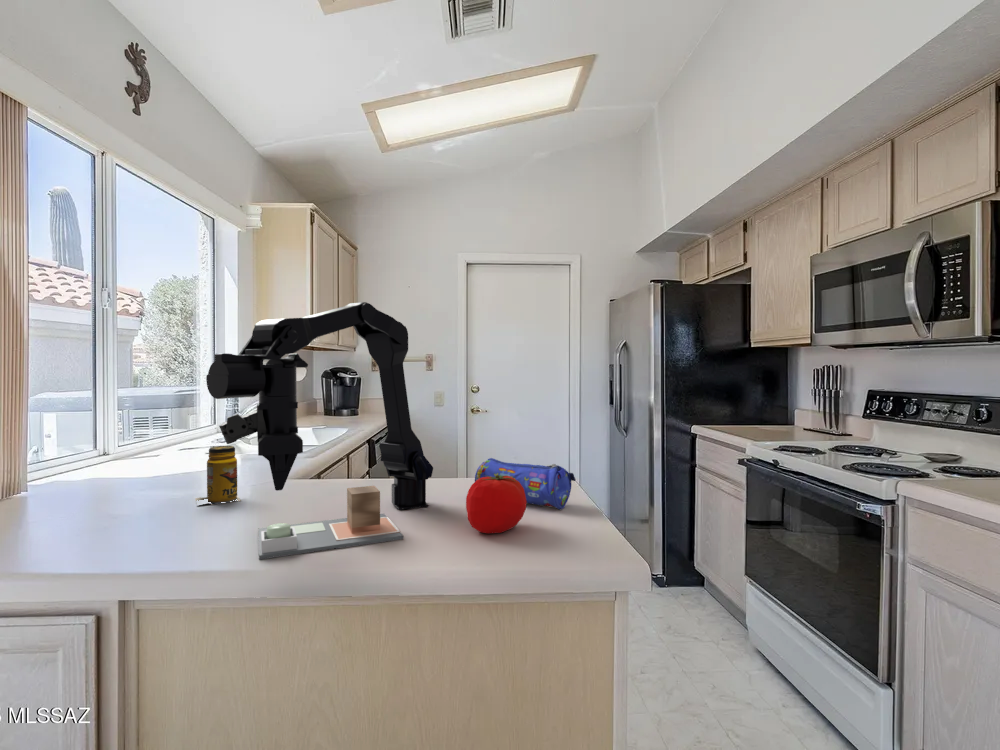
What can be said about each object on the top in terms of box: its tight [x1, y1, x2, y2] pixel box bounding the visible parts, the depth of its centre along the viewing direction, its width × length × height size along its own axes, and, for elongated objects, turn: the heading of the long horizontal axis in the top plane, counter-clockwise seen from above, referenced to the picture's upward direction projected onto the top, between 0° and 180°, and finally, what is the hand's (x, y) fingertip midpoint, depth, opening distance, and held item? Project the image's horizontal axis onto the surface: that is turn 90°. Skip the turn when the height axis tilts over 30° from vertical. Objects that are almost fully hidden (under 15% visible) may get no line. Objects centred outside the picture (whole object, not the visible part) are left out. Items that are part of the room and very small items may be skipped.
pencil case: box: [474, 457, 577, 510], centre depth 117 cm, size 22×9×10 cm, turn 59°
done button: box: [266, 522, 291, 539], centre depth 87 cm, size 4×4×2 cm
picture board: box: [257, 513, 404, 560], centre depth 94 cm, size 23×15×3 cm, turn 115°
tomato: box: [465, 475, 528, 535], centre depth 98 cm, size 11×13×10 cm
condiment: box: [194, 445, 241, 503], centre depth 118 cm, size 7×8×12 cm
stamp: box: [346, 485, 381, 534], centre depth 96 cm, size 5×5×7 cm
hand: (278, 489), depth 87 cm, fingers closed
